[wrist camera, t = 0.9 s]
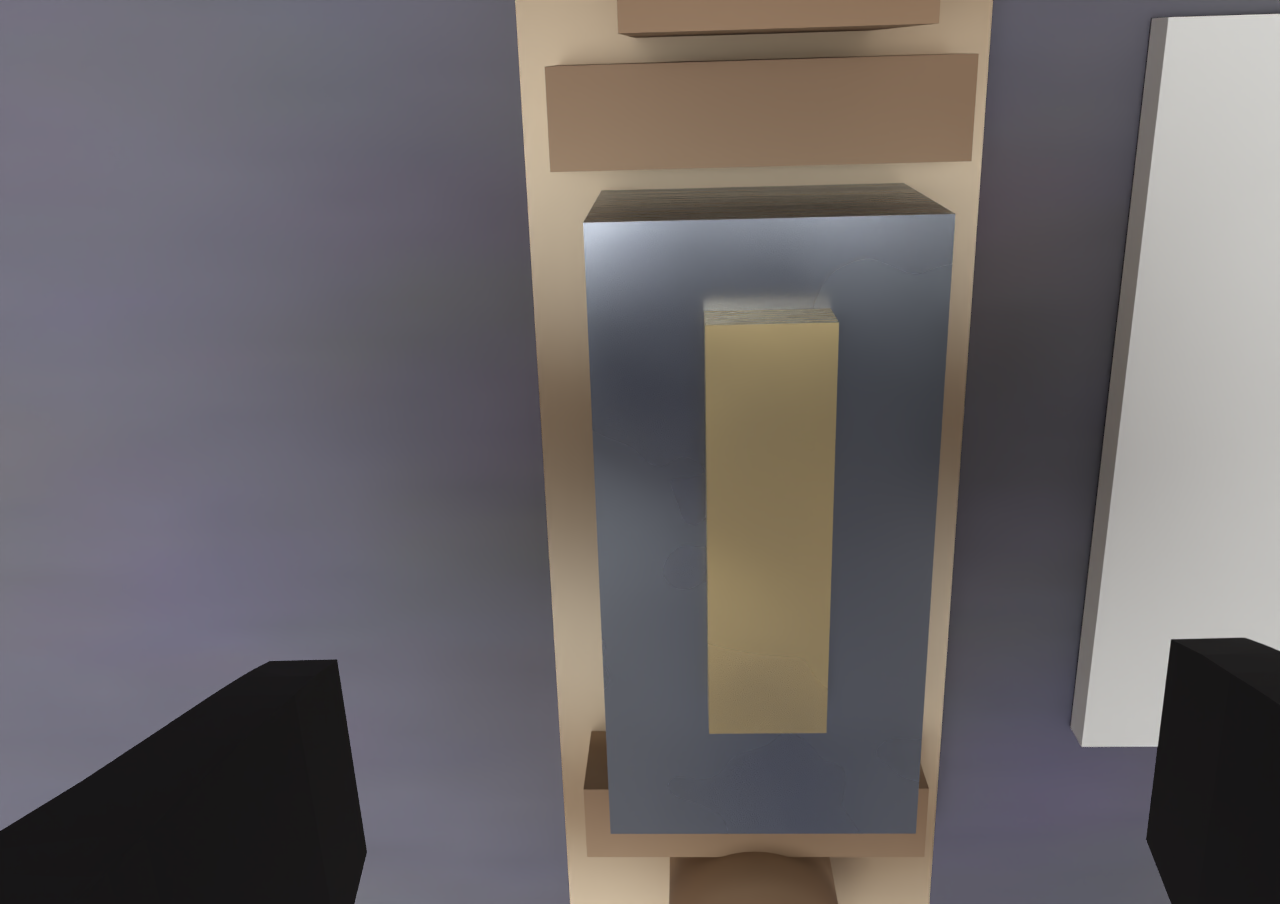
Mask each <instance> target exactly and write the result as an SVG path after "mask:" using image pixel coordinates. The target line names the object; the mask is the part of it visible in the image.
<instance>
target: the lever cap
mask: <svg viewBox="0 0 1280 904" xmlns="http://www.w3.org/2000/svg"><path fill="white" fill-rule="evenodd" d="M955 215H956V214H955V213H953V212H952V211H950V210H948V209H947V208H945V207H943V206H942V205H940V204H938V203H936V202H935V201H933V200H931V199H930V198H928V197H926V196H925V195H923V194H921V193H920V192H918V191H916V190H915V189H913V188H911V187H910V186H908V185H906V184H905V183H881V184H841V185H802V186H762V187H722V188H683V189H643V190H603V191H601V192H600V194H599V196H598V197H597V199H596V201H595V203H594V204H593V206H592V208H591V210H590V211H589V213H588V215H587V217H586V218H585V220H584V222H583V233H584V256H585V278H586V300H587V322H588V345H589V367H590V389H591V411H592V433H593V456H594V478H595V500H596V522H597V545H598V567H599V589H600V611H601V633H602V656H603V678H604V700H605V722H606V744H607V767H608V789H609V811H610V833H611V834H916V824H917V808H918V793H919V777H920V761H921V746H922V730H923V715H924V699H925V683H926V668H927V652H928V636H929V621H930V605H931V590H932V574H933V558H934V543H935V527H936V511H937V496H938V480H939V465H940V449H941V433H942V418H943V402H944V386H945V371H946V355H947V340H948V324H949V308H950V293H951V277H952V261H953V246H954V230H955Z"/></svg>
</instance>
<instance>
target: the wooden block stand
mask: <svg viewBox="0 0 1280 904" xmlns="http://www.w3.org/2000/svg"><path fill="white" fill-rule="evenodd" d="M515 4H516V20H517V37H518V53H519V70H520V86H521V102H522V119H523V135H524V152H525V168H526V185H527V201H528V217H529V234H530V250H531V267H532V283H533V299H534V316H535V332H536V349H537V365H538V382H539V398H540V414H541V431H542V447H543V464H544V480H545V497H546V513H547V529H548V546H549V562H550V579H551V595H552V611H553V628H554V644H555V661H556V677H557V694H558V710H559V726H560V743H561V759H562V776H563V792H564V809H565V825H566V841H567V858H568V874H569V891H570V904H929V900H930V885H931V871H932V857H933V843H934V829H935V814H936V800H937V786H938V772H939V758H940V744H941V729H942V715H943V701H944V687H945V673H946V659H947V644H948V630H949V616H950V602H951V588H952V573H953V559H954V545H955V531H956V517H957V503H958V488H959V474H960V460H961V446H962V432H963V417H964V403H965V389H966V375H967V361H968V347H969V332H970V318H971V304H972V290H973V276H974V262H975V247H976V233H977V219H978V205H979V191H980V176H981V162H982V148H983V134H984V120H985V106H986V91H987V77H988V63H989V49H990V35H991V20H992V6H993V0H515ZM881 183H905V184H906V185H908V186H910V187H911V188H913V189H915V190H916V191H918V192H920V193H921V194H923V195H925V196H926V197H928V198H930V199H931V200H933V201H935V202H936V203H938V204H940V205H942V206H943V207H945V208H947V209H948V210H950V211H952V212H953V213H955V214H956V215H955V230H954V246H953V261H952V277H951V293H950V308H949V324H948V340H947V355H946V371H945V386H944V402H943V418H942V433H941V449H940V465H939V480H938V496H937V511H936V527H935V543H934V558H933V574H932V590H931V605H930V621H929V636H928V652H927V668H926V683H925V699H924V715H923V730H922V746H921V761H920V777H919V793H918V808H917V824H916V834H611V833H610V811H609V789H608V767H607V744H606V722H605V700H604V678H603V656H602V633H601V611H600V589H599V567H598V545H597V522H596V500H595V478H594V456H593V433H592V411H591V389H590V367H589V345H588V322H587V300H586V278H585V256H584V233H583V222H584V220H585V218H586V217H587V215H588V213H589V211H590V210H591V208H592V206H593V204H594V203H595V201H596V199H597V197H598V196H599V194H600V192H601V191H603V190H643V189H683V188H722V187H762V186H802V185H841V184H881Z"/></svg>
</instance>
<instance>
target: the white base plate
mask: <svg viewBox="0 0 1280 904" xmlns="http://www.w3.org/2000/svg"><path fill="white" fill-rule="evenodd" d="M1243 637H1245V638H1248V639H1251V640H1253V641H1256V642H1259V643H1261V644H1264V645H1267V646H1269V647H1272V648H1274V649H1276V650H1279V651H1280V14H1259V15H1227V16H1195V17H1166V18H1152V22H1151V31H1150V39H1149V48H1148V57H1147V66H1146V74H1145V83H1144V92H1143V100H1142V109H1141V118H1140V127H1139V135H1138V144H1137V153H1136V161H1135V170H1134V179H1133V188H1132V196H1131V205H1130V214H1129V222H1128V231H1127V240H1126V248H1125V257H1124V266H1123V275H1122V283H1121V292H1120V301H1119V309H1118V318H1117V327H1116V336H1115V344H1114V353H1113V362H1112V370H1111V379H1110V388H1109V396H1108V405H1107V414H1106V423H1105V431H1104V440H1103V449H1102V457H1101V466H1100V475H1099V484H1098V492H1097V501H1096V510H1095V518H1094V527H1093V536H1092V545H1091V553H1090V562H1089V571H1088V579H1087V588H1086V597H1085V605H1084V614H1083V623H1082V632H1081V640H1080V649H1079V658H1078V666H1077V675H1076V684H1075V693H1074V701H1073V710H1072V719H1071V727H1070V728H1071V729H1072V731H1073V733H1074V735H1075V736H1076V738H1077V740H1078V742H1079V743H1080V745H1081V747H1158V740H1159V732H1160V724H1161V716H1162V708H1163V700H1164V692H1165V684H1166V675H1167V667H1168V659H1169V651H1170V643H1171V639H1202V638H1243Z"/></svg>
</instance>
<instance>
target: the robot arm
mask: <svg viewBox="0 0 1280 904" xmlns="http://www.w3.org/2000/svg"><path fill="white" fill-rule="evenodd" d="M1146 840H1147V843H1148V845H1149V848H1150V850H1151V853H1152V855H1153V858H1154V860H1155V863H1156V866H1157V868H1158V871H1159V873H1160V876H1161V878H1162V881H1163V883H1164V886H1165V889H1166V891H1167V894H1168V896H1169V899H1170V901H1171V903H1172V904H1280V651H1279V650H1276V649H1274V648H1272V647H1269V646H1267V645H1264V644H1261V643H1259V642H1256V641H1253V640H1251V639H1248V638H1245V637H1243V638H1202V639H1171V643H1170V651H1169V659H1168V667H1167V675H1166V684H1165V692H1164V700H1163V708H1162V716H1161V724H1160V732H1159V740H1158V748H1157V757H1156V765H1155V773H1154V781H1153V789H1152V797H1151V805H1150V813H1149V821H1148V829H1147V838H1146ZM366 853H367V850H366V844H365V837H364V831H363V824H362V818H361V811H360V805H359V798H358V792H357V786H356V779H355V773H354V766H353V760H352V753H351V747H350V740H349V734H348V727H347V721H346V715H345V708H344V702H343V695H342V689H341V682H340V676H339V669H338V663H337V660H300V661H269V662H267V663H265V664H263V665H261V666H259V667H258V668H256V669H254V670H252V671H250V672H248V673H247V674H245V675H243V676H242V677H240V678H238V679H237V680H235V681H233V682H232V683H230V684H229V685H227V686H225V687H224V688H222V689H221V690H219V691H218V692H216V693H215V694H213V695H211V696H210V697H208V698H207V699H205V700H204V701H202V702H201V703H199V704H198V705H196V706H195V707H193V708H192V709H190V710H189V711H187V712H186V713H184V714H183V715H181V716H180V717H178V718H177V719H175V720H174V721H172V722H171V723H169V724H168V725H166V726H165V727H163V728H162V729H160V730H159V731H157V732H156V733H154V734H153V735H151V736H150V737H148V738H147V739H145V740H144V741H142V742H141V743H139V744H138V745H136V746H134V747H133V748H131V749H130V750H128V751H127V752H125V753H124V754H122V755H121V756H119V757H118V758H116V759H115V760H113V761H112V762H110V763H109V764H107V765H106V766H104V767H103V768H101V769H100V770H98V771H97V772H95V773H94V774H92V775H91V776H89V777H87V778H86V779H84V780H83V781H81V782H80V783H78V784H77V785H75V786H73V787H72V788H70V789H68V790H67V791H65V792H63V793H62V794H60V795H59V796H57V797H55V798H54V799H52V800H50V801H49V802H47V803H45V804H44V805H42V806H41V807H39V808H37V809H36V810H34V811H32V812H31V813H29V814H27V815H26V816H24V817H23V818H21V819H19V820H18V821H16V822H14V823H13V824H11V825H9V826H8V827H6V828H5V829H3V830H1V831H0V904H354V903H355V898H356V894H357V890H358V886H359V882H360V878H361V874H362V870H363V865H364V861H365V857H366Z"/></svg>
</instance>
